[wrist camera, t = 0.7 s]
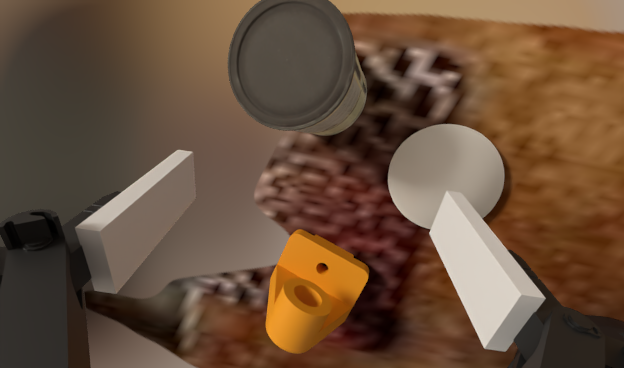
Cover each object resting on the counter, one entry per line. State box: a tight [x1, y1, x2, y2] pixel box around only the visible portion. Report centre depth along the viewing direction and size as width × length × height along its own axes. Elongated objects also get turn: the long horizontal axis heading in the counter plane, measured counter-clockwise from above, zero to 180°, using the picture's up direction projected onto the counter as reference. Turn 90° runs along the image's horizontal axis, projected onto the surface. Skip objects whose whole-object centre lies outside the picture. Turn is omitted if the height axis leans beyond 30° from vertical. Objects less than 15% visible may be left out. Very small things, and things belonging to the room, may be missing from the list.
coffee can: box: [228, 0, 367, 135], centre depth 29 cm, size 10×10×14 cm
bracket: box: [266, 229, 369, 353], centre depth 33 cm, size 11×7×12 cm, turn 64°
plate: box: [388, 124, 505, 229], centre depth 33 cm, size 12×12×1 cm
